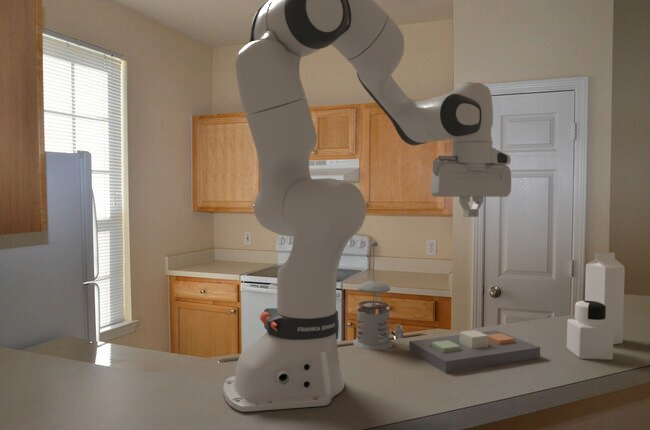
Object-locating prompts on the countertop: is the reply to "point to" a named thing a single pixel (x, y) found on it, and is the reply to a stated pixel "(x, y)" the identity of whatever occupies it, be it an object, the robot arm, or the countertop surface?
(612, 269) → the milk
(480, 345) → the cream button
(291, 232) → the robot arm
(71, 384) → the countertop surface
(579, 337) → the medicine bottle
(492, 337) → the terracotta button
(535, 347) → the button panel
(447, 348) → the sage button
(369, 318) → the french press
